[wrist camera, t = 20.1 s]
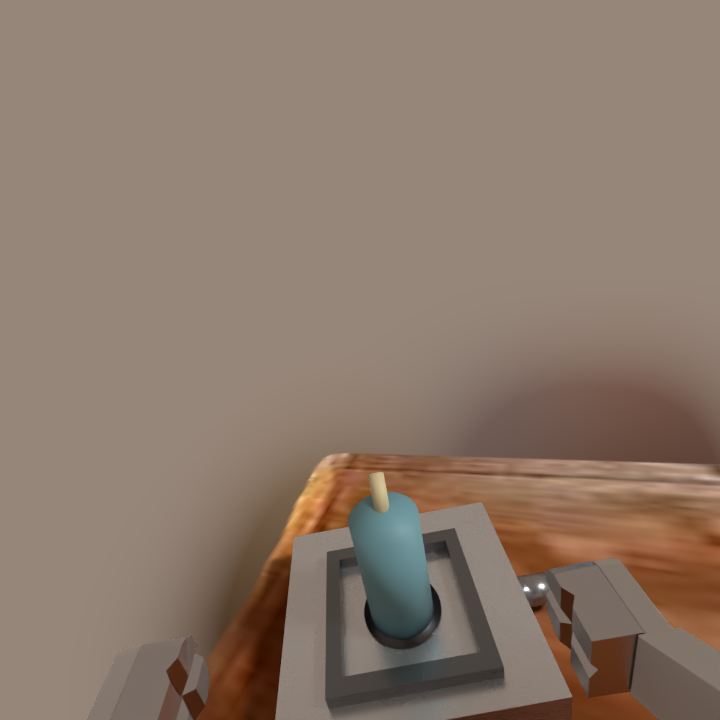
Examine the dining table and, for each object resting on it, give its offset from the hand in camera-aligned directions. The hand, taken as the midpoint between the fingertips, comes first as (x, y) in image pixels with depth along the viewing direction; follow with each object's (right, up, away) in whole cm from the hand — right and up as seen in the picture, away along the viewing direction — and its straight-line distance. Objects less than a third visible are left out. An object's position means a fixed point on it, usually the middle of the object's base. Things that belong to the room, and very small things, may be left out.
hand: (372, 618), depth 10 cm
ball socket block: (+5, -18, +28) cm, 33 cm away
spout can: (+3, -15, +25) cm, 29 cm away
